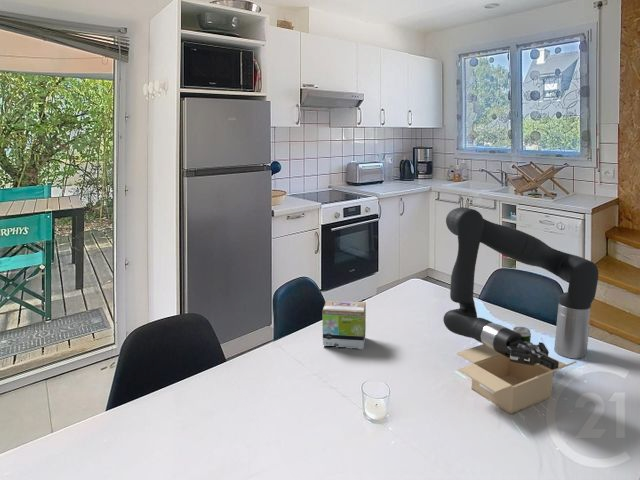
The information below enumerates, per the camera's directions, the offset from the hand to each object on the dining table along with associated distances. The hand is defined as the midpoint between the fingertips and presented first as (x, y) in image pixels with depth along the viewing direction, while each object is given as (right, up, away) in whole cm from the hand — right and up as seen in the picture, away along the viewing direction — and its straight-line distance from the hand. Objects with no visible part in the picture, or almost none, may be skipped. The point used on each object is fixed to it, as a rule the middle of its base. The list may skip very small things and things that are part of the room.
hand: (556, 366), depth 110 cm
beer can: (+4, -8, +30) cm, 32 cm away
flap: (-3, -5, +7) cm, 9 cm away
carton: (-7, -11, +18) cm, 22 cm away
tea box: (-51, -6, +49) cm, 71 cm away
